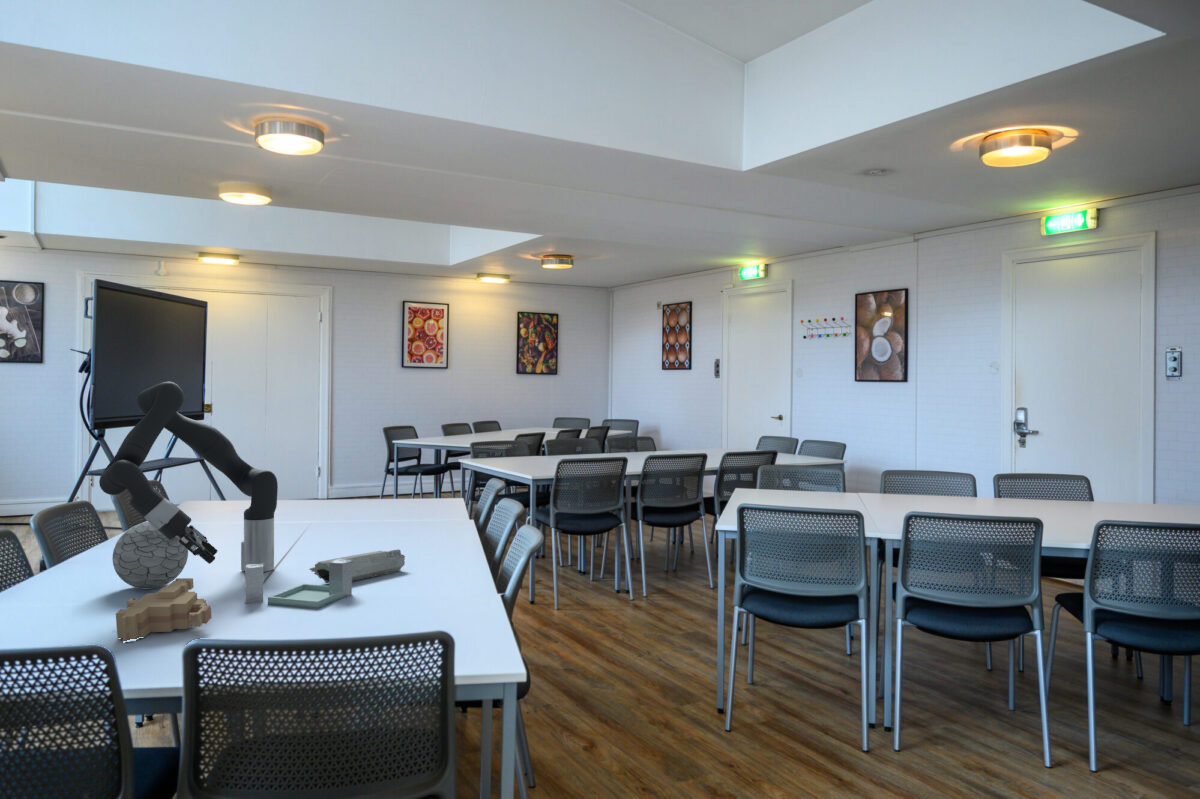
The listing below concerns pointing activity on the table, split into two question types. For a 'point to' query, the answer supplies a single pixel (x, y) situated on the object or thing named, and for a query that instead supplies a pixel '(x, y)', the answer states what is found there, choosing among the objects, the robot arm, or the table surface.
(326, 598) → the tray
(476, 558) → the table surface
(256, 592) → the post
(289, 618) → the table surface
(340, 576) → the post
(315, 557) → the table surface
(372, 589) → the table surface
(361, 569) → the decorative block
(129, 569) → the decorative sphere
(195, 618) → the toy
